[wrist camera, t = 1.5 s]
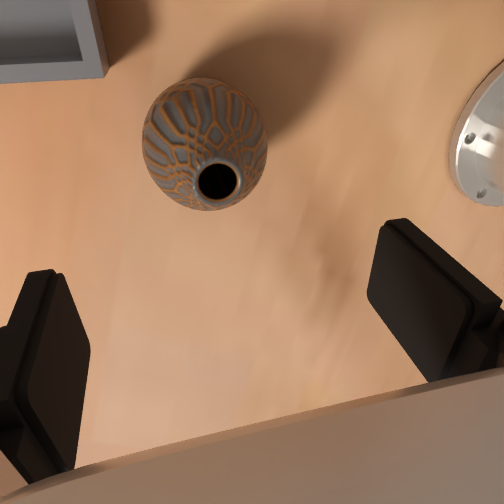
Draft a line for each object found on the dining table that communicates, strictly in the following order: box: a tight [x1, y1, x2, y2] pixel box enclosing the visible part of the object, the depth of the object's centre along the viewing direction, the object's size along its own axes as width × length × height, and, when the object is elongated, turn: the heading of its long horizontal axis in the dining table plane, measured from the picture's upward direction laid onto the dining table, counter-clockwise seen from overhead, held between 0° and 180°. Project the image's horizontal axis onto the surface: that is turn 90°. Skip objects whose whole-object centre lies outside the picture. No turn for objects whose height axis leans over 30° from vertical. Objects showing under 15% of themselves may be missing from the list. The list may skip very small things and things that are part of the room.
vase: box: [142, 78, 267, 211], centre depth 21 cm, size 7×7×9 cm
